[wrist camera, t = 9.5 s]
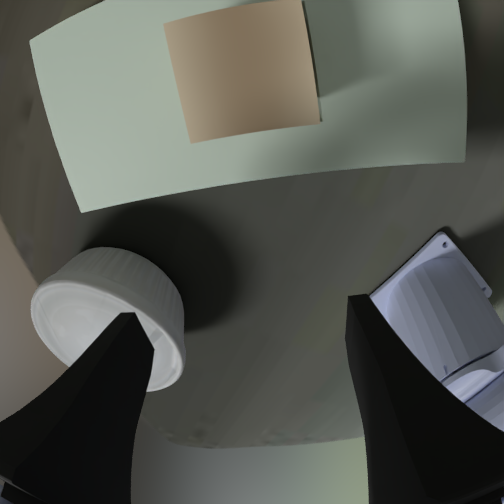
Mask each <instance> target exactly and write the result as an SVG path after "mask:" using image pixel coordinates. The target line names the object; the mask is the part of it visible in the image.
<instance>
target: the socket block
mask: <svg viewBox="0 0 504 504" xmlns="http://www.w3.org/2000/svg"><path fill="white" fill-rule="evenodd" d="M267 1H276V0H105V1H103V2H101V3H99V4H97V5H94V6H92V7H90V8H88V9H86V10H84V11H82V12H80V13H78V14H76V15H74V16H72V17H70V18H68V19H66V20H64V21H62V22H61V23H59V24H57V25H55V26H53V27H52V28H50V29H48V30H46V31H45V32H43V33H41V34H40V35H38V36H36V37H35V38H33V39H32V40H30V41H29V42H30V47H31V52H32V57H33V62H34V66H35V71H36V75H37V79H38V83H39V88H40V91H41V95H42V99H43V103H44V106H45V110H46V114H47V117H48V120H49V124H50V127H51V130H52V134H53V137H54V140H55V143H56V146H57V149H58V152H59V155H60V158H61V161H62V164H63V166H64V169H65V172H66V175H67V177H68V180H69V183H70V185H71V188H72V191H73V193H74V196H75V198H76V201H77V203H78V206H79V208H80V211H81V213H83V212H87V211H92V210H96V209H100V208H105V207H109V206H114V205H119V204H123V203H128V202H133V201H138V200H143V199H148V198H153V197H158V196H163V195H168V194H174V193H179V192H185V191H190V190H196V189H202V188H208V187H214V186H220V185H227V184H233V183H240V182H246V181H253V180H260V179H268V178H275V177H283V176H291V175H299V174H307V173H316V172H325V171H335V170H345V169H356V168H368V167H380V166H394V165H410V164H428V163H453V162H465V153H466V134H467V82H466V63H465V51H464V41H463V32H462V24H461V17H460V11H459V5H458V0H301V2H302V7H303V12H304V18H305V23H306V29H307V34H308V40H309V46H310V52H311V58H312V64H313V71H314V78H315V85H316V92H317V100H318V107H319V115H320V124H316V125H307V126H298V127H289V128H282V129H274V130H267V131H260V132H254V133H247V134H241V135H235V136H229V137H224V138H218V139H213V140H208V141H203V142H198V143H193V144H191V143H190V139H189V135H188V131H187V127H186V122H185V118H184V114H183V110H182V106H181V102H180V97H179V93H178V89H177V84H176V80H175V76H174V71H173V67H172V63H171V58H170V54H169V49H168V45H167V40H166V35H165V31H164V26H163V24H164V23H168V22H171V21H174V20H178V19H182V18H185V17H189V16H193V15H197V14H201V13H206V12H210V11H215V10H219V9H224V8H230V7H235V6H241V5H247V4H253V3H260V2H267Z"/></svg>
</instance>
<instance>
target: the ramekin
mask: <svg viewBox="0 0 504 504" xmlns="http://www.w3.org/2000/svg"><path fill="white" fill-rule="evenodd" d="M121 312H135V313H136V315H137V317H138V319H139V321H140V323H141V325H142V327H143V329H144V330H145V332H146V334H147V336H148V338H149V340H150V342H151V343H152V345H153V347H154V349H155V351H154V359H153V366H152V372H151V377H150V380H149V384H148V388H147V391H146V392H148V391H156V390H160V389H163V388H166V387H168V386H170V385H171V384H173V383H174V382H176V381H177V380H178V379H179V377H180V376H181V374H182V372H183V369H184V365H185V359H186V351H185V346H184V343H183V341H184V308H183V303H182V300H181V296H180V294H179V292H178V290H177V288H176V287H175V285H174V284H173V282H172V281H171V280H170V279H169V277H168V276H167V275H166V274H165V273H164V272H163V271H162V270H161V269H160V268H159V267H157V266H156V265H155V264H153V263H152V262H151V261H149V260H148V259H146V258H144V257H142V256H140V255H138V254H136V253H133V252H131V251H128V250H124V249H119V248H112V247H99V248H92V249H88V250H86V251H84V252H81V253H79V254H78V255H77V256H75V257H74V258H73V259H71V260H70V261H69V262H68V263H67V264H66V265H65V266H63V267H62V268H61V269H60V270H59V271H58V272H57V273H56V274H54V275H52V276H50V277H48V278H47V279H45V280H44V281H43V282H42V283H41V284H40V286H39V287H38V288H37V290H36V291H35V293H34V295H33V298H32V301H31V316H32V321H33V323H34V327H35V329H36V331H37V333H38V334H39V336H40V338H41V339H42V340H43V341H44V343H45V344H46V346H47V347H48V348H49V349H50V350H51V351H52V352H53V353H54V354H55V355H56V356H57V357H58V358H59V359H60V360H61V361H62V362H64V363H65V364H66V365H68V366H69V367H70V366H71V365H72V364H73V363H74V362H75V361H76V360H77V359H78V358H79V357H80V356H81V355H82V354H83V352H84V351H85V350H86V349H87V348H88V347H89V346H90V345H91V344H92V342H93V341H94V340H95V339H96V338H97V337H98V336H99V335H100V334H101V333H102V331H103V330H104V329H105V328H106V327H107V326H108V325H109V324H110V323H111V322H112V321H113V320H114V318H115V317H116V316H117V315H119V314H120V313H121Z"/></svg>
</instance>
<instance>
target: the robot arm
mask: <svg viewBox="0 0 504 504" xmlns="http://www.w3.org/2000/svg"><path fill="white" fill-rule="evenodd" d="M444 242H446V243H445V244H444V245H443V243H444ZM491 294H492V290H491V288H490V287H489V286H488V284H487V283H486V282H485V280H484V279H483V278H482V277H481V275H480V274H479V273H478V272H477V270H476V269H475V268H474V267H473V265H472V264H471V263H470V262H469V260H468V259H467V258H466V257H465V256H464V254H463V253H462V252H461V251H460V250H459V248H458V247H457V246H456V245H455V244H454V243H453V241H452V240H451V239H450V238H449V237H448V236H447V235H446V234H445V233H444V232H438V233H437V234H436V235H435V236H434V237H433V238H432V239H431V240H430V241H429V242H428V243H427V244H426V245H425V246H424V247H422V248H421V249H420V250H419V251H418V252H417V253H416V254H415V255H414V256H413V257H412V258H411V259H410V260H409V261H408V262H407V263H406V264H405V265H404V266H402V267H401V268H400V269H399V270H398V271H397V272H396V273H395V274H394V275H393V276H392V277H390V278H389V279H388V280H387V281H386V282H385V283H384V284H383V285H381V286H380V287H379V288H378V289H377V290H376V291H375V292H374V293H372V294H371V295H370V296H368V295H367V294H361V295H353V296H348V305H347V320H346V334H345V341H346V348H347V355H348V362H349V368H350V372H351V376H352V380H353V384H354V388H355V392H356V396H357V400H358V405H359V409H360V413H361V418H362V422H363V428H364V435H365V443H366V455H367V468H368V487H369V488H368V489H369V504H504V325H503V323H502V321H501V320H500V318H499V316H498V315H497V313H496V311H495V310H494V308H493V306H492V305H491V303H490V302H489V300H488V298H489V297H490V296H491ZM154 351H155V349H154V347H153V345H152V343H151V342H150V340H149V338H148V336H147V334H146V332H145V330H144V329H143V327H142V325H141V323H140V321H139V319H138V317H137V315H136V313H135V312H121V313H120V314H119V315H117V316H116V317H115V318H114V320H113V321H112V322H111V323H110V324H109V325H108V326H107V327H106V328H105V329H104V330H103V331H102V333H101V334H100V335H99V336H98V337H97V338H96V339H95V340H94V341H93V342H92V344H91V345H90V346H89V347H88V348H87V349H86V350H85V351H84V352H83V354H82V355H81V356H80V357H79V358H78V359H77V360H76V361H75V362H74V363H73V364H72V365H71V366H70V367H69V369H67V370H66V371H65V372H64V373H63V374H62V375H61V377H59V378H58V379H57V380H56V381H55V382H54V383H53V384H52V385H51V386H50V387H48V388H47V389H46V390H45V391H44V392H43V393H41V394H40V395H39V396H38V397H36V398H35V399H34V400H32V401H31V402H30V403H28V404H27V405H26V406H24V407H23V408H22V409H21V410H19V411H17V412H16V413H14V414H13V415H11V416H9V417H8V418H6V419H5V420H3V421H1V422H0V479H1V480H3V481H5V483H4V486H2V485H0V504H131V467H132V455H133V446H134V439H135V433H136V428H137V424H138V420H139V416H140V413H141V409H142V405H143V402H144V398H145V395H146V391H147V388H148V384H149V380H150V377H151V372H152V366H153V359H154Z"/></svg>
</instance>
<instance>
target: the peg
mask: <svg viewBox="0 0 504 504" xmlns="http://www.w3.org/2000/svg"><path fill="white" fill-rule="evenodd" d="M163 26H164V31H165V35H166V40H167V45H168V49H169V54H170V58H171V63H172V67H173V71H174V76H175V80H176V84H177V89H178V93H179V97H180V102H181V106H182V110H183V114H184V118H185V122H186V127H187V131H188V135H189V139H190V143H191V144H193V143H198V142H203V141H208V140H213V139H218V138H224V137H229V136H235V135H241V134H247V133H254V132H260V131H267V130H274V129H282V128H289V127H298V126H307V125H316V124H320V115H319V107H318V100H317V92H316V85H315V78H314V71H313V64H312V58H311V52H310V46H309V40H308V34H307V29H306V23H305V18H304V12H303V7H302V2H301V0H276V1H267V2H260V3H253V4H247V5H241V6H235V7H230V8H224V9H219V10H215V11H210V12H206V13H201V14H197V15H193V16H189V17H185V18H182V19H178V20H174V21H171V22H168V23H164V24H163Z"/></svg>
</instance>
